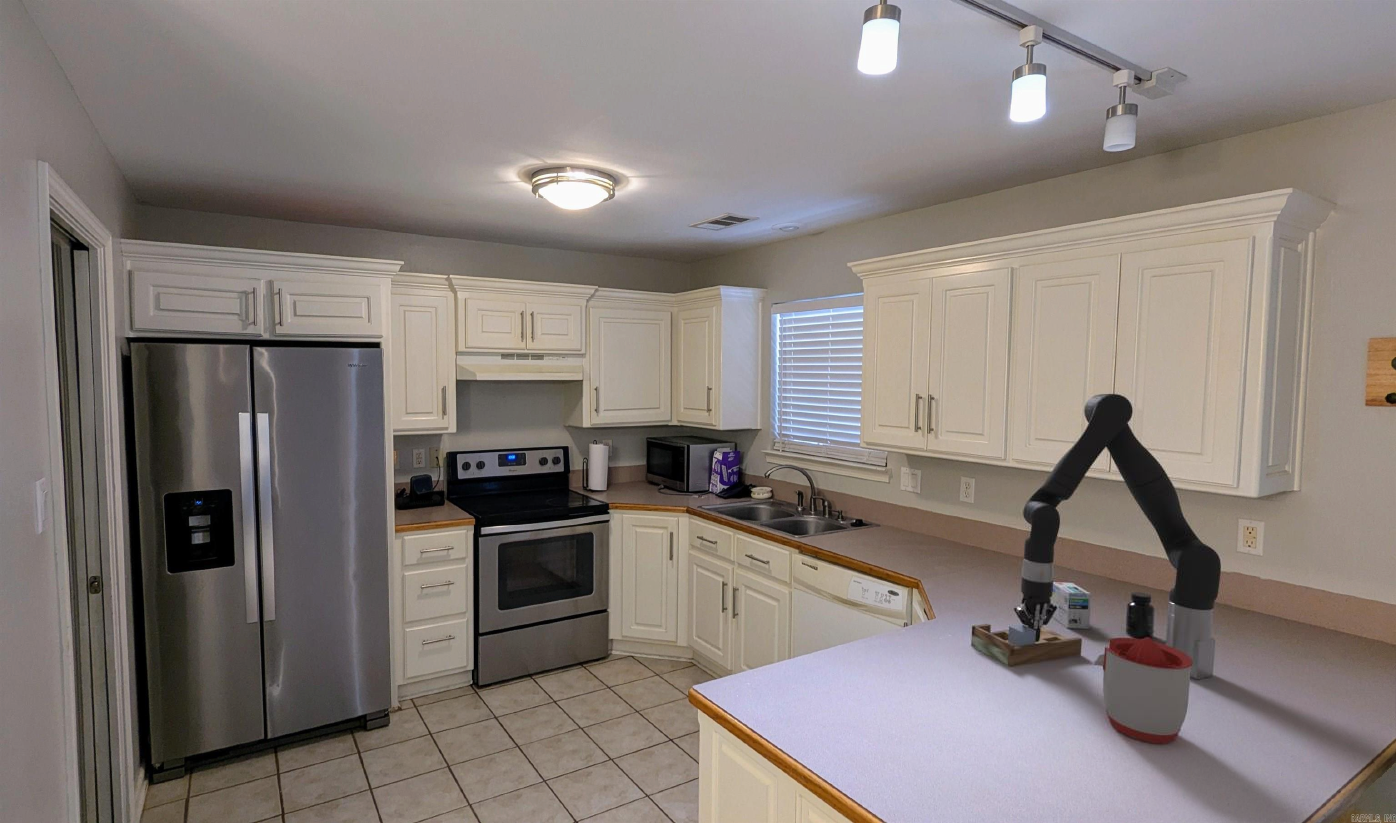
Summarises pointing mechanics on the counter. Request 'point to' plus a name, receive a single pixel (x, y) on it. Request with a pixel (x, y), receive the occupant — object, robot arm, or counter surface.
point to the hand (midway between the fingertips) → (1033, 640)
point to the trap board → (1043, 650)
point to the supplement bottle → (1140, 616)
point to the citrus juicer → (1145, 688)
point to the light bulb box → (1071, 605)
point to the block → (1021, 635)
